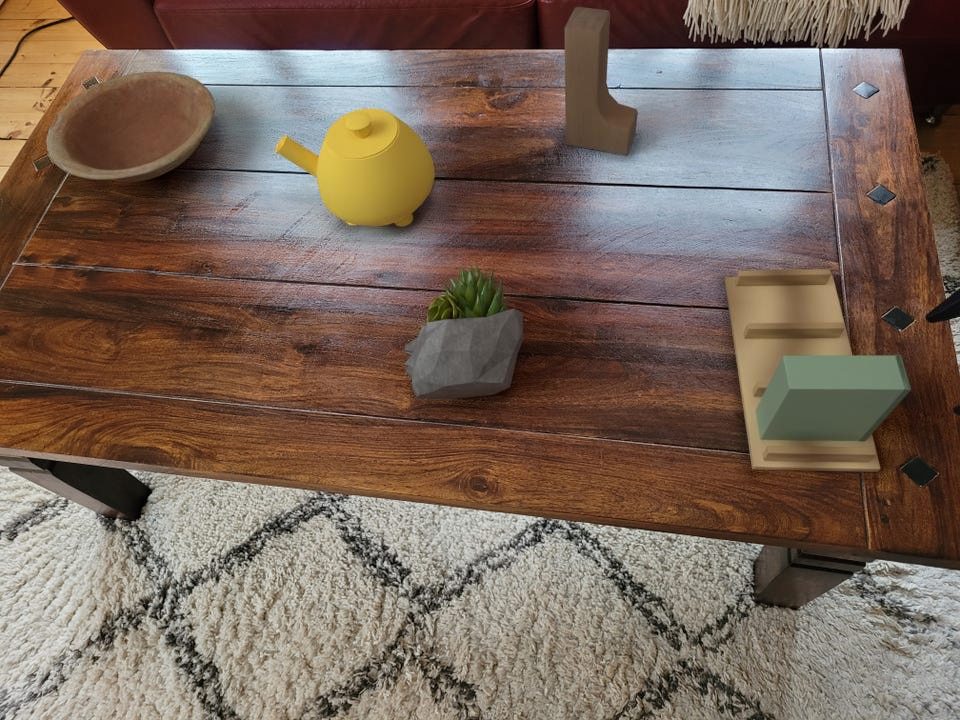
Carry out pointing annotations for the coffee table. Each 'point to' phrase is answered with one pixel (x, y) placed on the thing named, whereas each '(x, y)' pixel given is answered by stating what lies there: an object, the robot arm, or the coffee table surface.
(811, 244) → the coffee table surface
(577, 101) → the wooden block
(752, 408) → the rack
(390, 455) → the coffee table surface
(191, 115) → the bowl
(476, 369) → the potted plant
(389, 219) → the teapot
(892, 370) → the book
